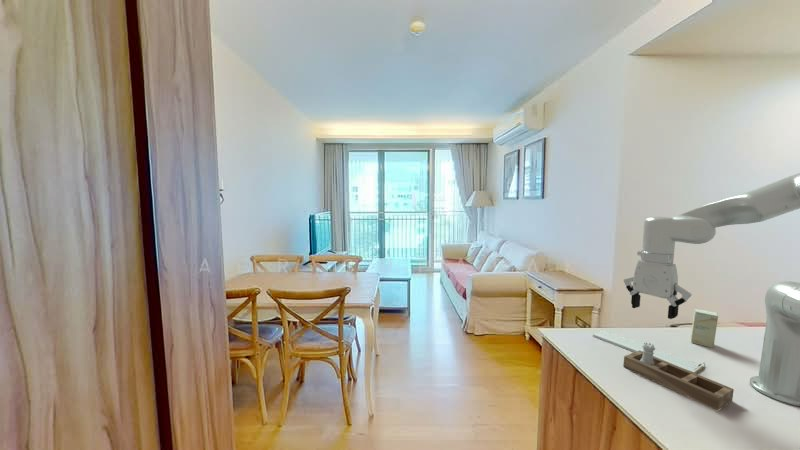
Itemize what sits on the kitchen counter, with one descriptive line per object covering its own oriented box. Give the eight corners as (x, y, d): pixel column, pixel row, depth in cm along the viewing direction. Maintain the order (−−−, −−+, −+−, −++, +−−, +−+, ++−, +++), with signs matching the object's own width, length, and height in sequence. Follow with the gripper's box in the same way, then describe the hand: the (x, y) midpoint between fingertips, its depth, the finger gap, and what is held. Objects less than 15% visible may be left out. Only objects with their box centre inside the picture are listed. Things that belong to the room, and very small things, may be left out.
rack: (638, 360, 106) (639, 350, 106) (732, 401, 86) (733, 389, 85) (623, 366, 102) (624, 356, 102) (717, 410, 82) (719, 398, 82)
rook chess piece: (641, 371, 99) (644, 347, 98) (635, 363, 103) (637, 340, 102) (658, 373, 98) (661, 348, 97) (651, 365, 102) (653, 342, 101)
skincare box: (691, 342, 119) (694, 311, 117) (690, 338, 122) (693, 308, 121) (714, 348, 115) (718, 315, 113) (713, 343, 118) (717, 312, 117)
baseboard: (605, 331, 129) (592, 337, 124) (606, 325, 128) (592, 330, 123) (705, 367, 103) (693, 377, 98) (706, 359, 103) (694, 368, 98)
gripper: (619, 254, 102) (616, 305, 104) (686, 265, 87) (681, 325, 89) (633, 251, 106) (629, 301, 108) (699, 262, 90) (694, 320, 92)
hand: (653, 312), depth 98 cm, fingers open, 9 cm apart
